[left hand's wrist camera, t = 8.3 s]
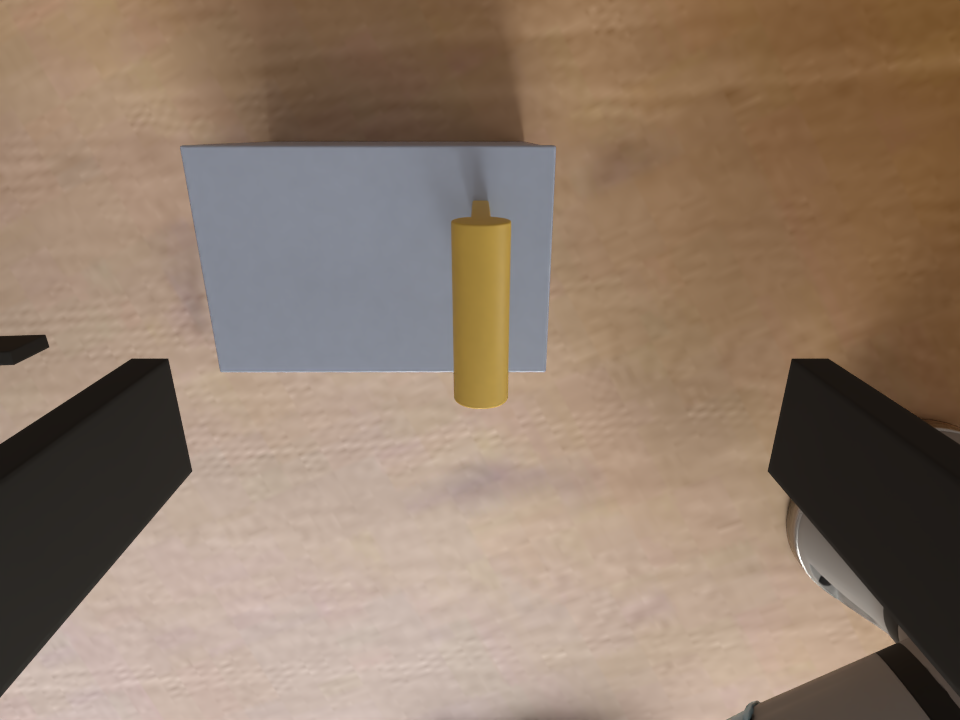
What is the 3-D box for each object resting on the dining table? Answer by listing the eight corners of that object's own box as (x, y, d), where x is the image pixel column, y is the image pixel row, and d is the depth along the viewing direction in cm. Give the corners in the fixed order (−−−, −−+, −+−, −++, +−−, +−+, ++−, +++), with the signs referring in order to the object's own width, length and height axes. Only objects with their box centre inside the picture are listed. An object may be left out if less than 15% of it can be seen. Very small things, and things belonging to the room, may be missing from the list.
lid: (553, 145, 25) (591, 151, 16) (544, 366, 28) (570, 462, 20) (188, 145, 25) (41, 151, 16) (226, 366, 28) (123, 462, 20)
